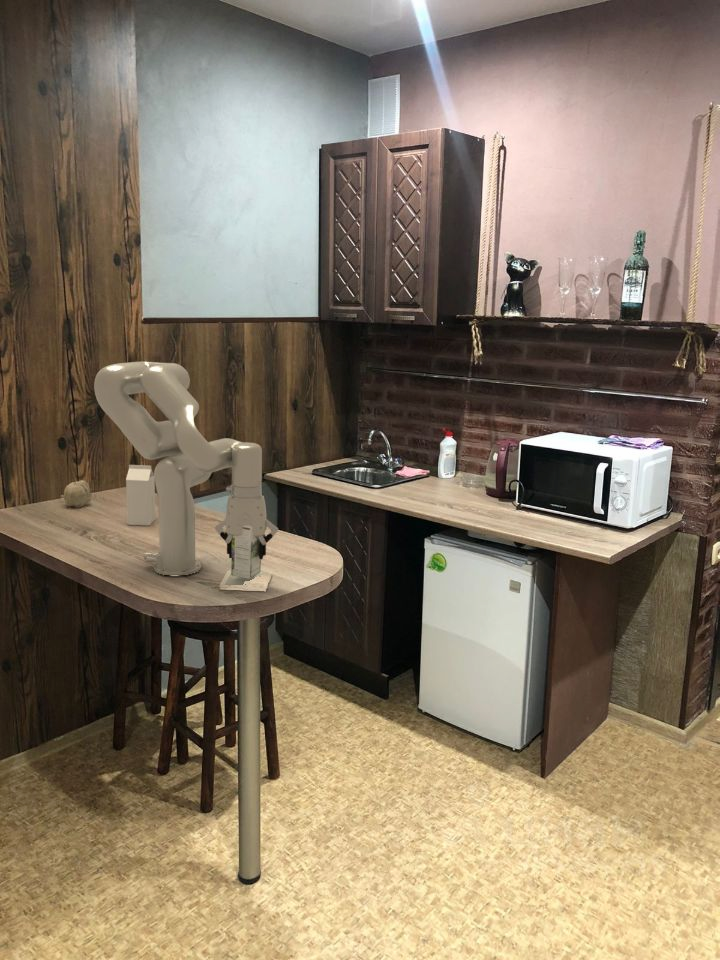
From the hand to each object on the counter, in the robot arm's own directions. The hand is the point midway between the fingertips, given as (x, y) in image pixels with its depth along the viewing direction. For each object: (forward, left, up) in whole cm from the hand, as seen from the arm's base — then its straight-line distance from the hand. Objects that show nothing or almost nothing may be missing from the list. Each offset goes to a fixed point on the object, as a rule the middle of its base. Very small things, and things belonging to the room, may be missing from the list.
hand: (246, 556), depth 207 cm
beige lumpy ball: (-69, +66, -7) cm, 96 cm away
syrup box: (0, 0, -5) cm, 5 cm away
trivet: (0, 0, -7) cm, 7 cm away
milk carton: (-42, +50, -7) cm, 66 cm away
